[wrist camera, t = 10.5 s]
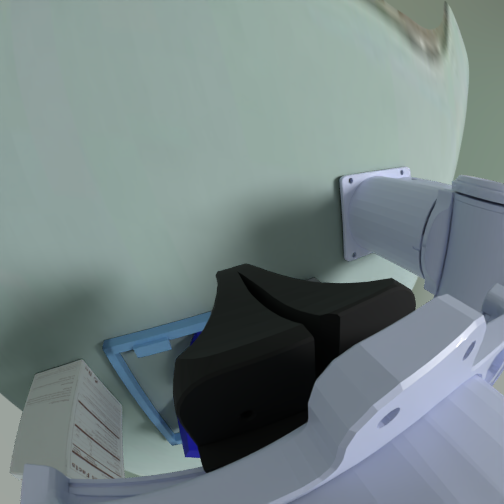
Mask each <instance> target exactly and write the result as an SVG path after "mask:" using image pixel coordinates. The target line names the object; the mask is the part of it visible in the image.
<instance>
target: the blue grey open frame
mask: <svg viewBox="0 0 504 504" xmlns="http://www.w3.org/2000/svg"><path fill="white" fill-rule="evenodd" d="M306 281H313V282H320V281H319V280H317V279H316V278H315V277H314V278H311V279H309V280H306ZM211 312H212V311H210V312H207V313H203V314H200V315H197V316H193V317H190V318H186V319H183V320H179V321H176V322H172V323H169V324H165V325H161V326H158V327H154V328H150V329H147V330H143V331H139V332H135V333H131V334H128V335H124V336H120V337H116V338H112V339H108V340H104V343H103V348H102V349H103V351H104V352H105V354H106V356H107V357H108V359H109V361H110V362H111V364H112V366H113V367H114V369H115V370H116V372H117V374H118V375H119V377H120V378H121V380H122V381H123V383H124V384H125V386H126V387H127V389H128V390H129V392H130V393H131V394H132V396H133V397H134V399H135V400H136V401H137V403H138V404H139V405H140V407H141V408H142V409H143V411H144V412H145V413H146V415H147V416H148V417H149V419H150V420H151V421H152V422H153V424H154V425H155V426H156V427H157V429H158V430H159V431H160V432H161V433H162V435H163V436H164V437H165V438H166V439H167V440H168V442H169V443H170V444H171V445H172V446H173V445H178V444H182V440H181V435H180V433H176V434H174V433H173V432H172V430H171V429H170V428H169V426H168V425H167V424H166V423H165V421H164V420H163V419H162V417H161V416H160V414H159V413H158V412H157V410H156V409H155V407H154V406H153V405H152V403H151V402H150V400H149V399H148V397H147V396H146V394H145V393H144V391H143V390H142V388H141V387H140V385H139V384H138V382H137V381H136V379H135V377H134V376H133V374H132V373H131V371H130V369H129V368H128V366H127V364H126V363H125V361H124V359H123V357H122V356H121V354H120V353H121V352H125V351H129V350H134V351H135V353H136V355H137V357H138V358H141V357H145V356H149V355H153V354H156V353H160V352H164V351H168V350H172V348H171V344H170V342H169V340H172V339H175V338H179V337H183V336H186V335H190V334H193V333H197V332H200V331H203V329H204V327H205V325H206V323H207V321H208V319H209V317H210V315H211Z"/></svg>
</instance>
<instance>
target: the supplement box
mask: <svg viewBox="0 0 504 504" xmlns="http://www.w3.org/2000/svg"><path fill="white" fill-rule="evenodd" d="M24 464H36V465H46V466H50V467H53V468H55V469H57V470H59V471H60V472H62V473H63V474H64V475H65V476H67V478H70V479H117V478H125V474H124V461H123V440H122V405H121V404H120V402H119V401H118V400H117V399H116V398H115V397H114V396H113V395H112V394H111V392H110V391H109V390H108V389H107V388H106V387H105V386H104V384H103V383H102V382H101V381H100V380H99V379H98V377H97V376H96V375H95V374H94V372H93V371H92V370H91V369H90V368H89V366H88V365H87V364H86V363H85V361H84V360H83V359H81V360H78V361H75V362H72V363H69V364H66V365H63V366H60V367H57V368H54V369H50V370H47V371H44V372H41V373H37V374H35V376H34V379H33V382H32V385H31V388H30V390H29V394H28V397H27V400H26V403H25V406H24V410H23V413H22V416H21V420H20V424H19V428H18V432H17V436H16V441H15V445H14V450H13V455H12V461H11V467H10V473H11V474H12V475H13V476H14V477H16V478H17V479H18V480H20V481H21V482H22V479H23V471H24Z"/></svg>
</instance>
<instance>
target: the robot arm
mask: <svg viewBox="0 0 504 504" xmlns="http://www.w3.org/2000/svg"><path fill="white" fill-rule="evenodd" d="M400 171H401V173H400ZM349 178H350V183H349ZM340 193H341V206H342V221H343V240H344V259H345V260H347V261H352V260H355V259H357V258H360V257H363V256H365V255H368V254H371V253H375V254H377V255H379V256H381V257H383V258H385V259H387V260H389V261H391V262H393V263H394V264H396V265H398V266H400V267H402V268H404V269H406V270H408V271H410V272H412V273H414V274H415V275H417V276H419V277H421V278H423V279H425V285H424V289H425V290H427V291H429V292H430V293H432V294H434V298H433V299H432V300H430V301H429V302H427V303H426V304H424V305H423V306H421V307H419V308H418V309H416V310H415V307H416V302H415V297H414V294H413V292H412V291H411V289H409V288H407V287H406V286H404V285H402V284H401V283H399V282H398V281H396V280H394V279H392V278H390V279H383V280H376V281H370V282H359V283H322V282H313V281H306V280H300V279H295V278H291V277H287V276H283V275H279V274H276V273H273V272H270V271H267V270H264V269H261V268H258V267H255V266H253V265H250V264H242V265H239V266H236V267H232V268H229V269H225V270H222V271H218V272H217V274H216V278H217V282H218V286H217V294H216V299H215V303H214V307H213V310H212V312H211V315H210V317H209V319H208V321H207V323H206V325H205V327H204V329H203V331H202V332H201V334H200V335H199V336H198V338H197V339H196V340H195V341H194V342H193V343H192V345H191V346H190V347H188V348H187V349H186V350H185V351H184V352H183V353H182V354H181V355H180V356H179V357H178V358H177V359H176V363H175V369H174V379H173V397H174V404H175V410H176V415H177V417H178V419H179V422H180V423H181V425H182V426H183V428H184V429H185V430H186V432H187V433H188V434H189V436H190V437H191V439H192V440H193V441H194V443H195V444H196V445H197V447H198V451H199V455H200V459H201V462H202V467H198V468H193V469H188V470H183V471H178V472H172V473H166V474H159V475H151V476H143V477H132V478H117V479H70V478H67V476H65V475H64V474H63V473H62V472H60V471H59V470H57V469H55V468H53V467H50V466H46V465H36V464H24V471H23V479H22V489H21V503H20V504H504V396H503V395H502V394H501V393H500V392H498V391H497V390H496V389H495V388H494V387H492V386H493V385H494V383H495V382H496V380H497V379H498V377H499V376H500V374H501V373H502V372H503V370H504V183H500V182H496V181H491V180H487V179H482V178H477V177H472V176H466V175H460V176H458V178H456V180H453V181H452V185H450V184H445V183H441V182H436V181H431V180H426V179H420V178H415V177H410V169H409V167H398V168H391V169H384V170H377V171H370V172H363V173H357V174H350V175H344V176H342V177H341V178H340ZM353 253H354V255H353ZM352 255H353V256H352Z"/></svg>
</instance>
